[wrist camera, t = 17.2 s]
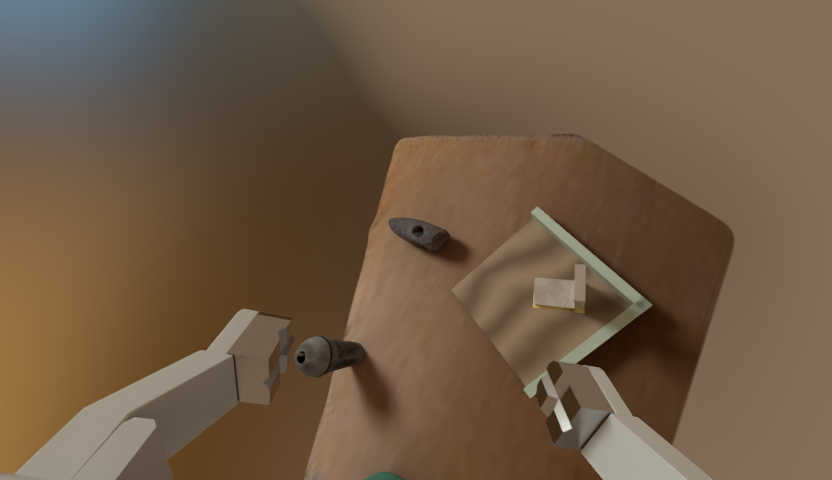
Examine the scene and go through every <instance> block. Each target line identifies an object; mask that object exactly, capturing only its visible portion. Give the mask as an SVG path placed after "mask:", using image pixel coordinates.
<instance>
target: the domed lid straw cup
mask: <svg viewBox="0 0 832 480" xmlns="http://www.w3.org/2000/svg"><path fill="white" fill-rule="evenodd" d="M293 355H295V363H296V366H297V368H298V370H299V371H300V372H301V373H303V374H304V375H306V376H311V377H320V376H322V375H324V374H327V373H329V372H331V371H334V370H338V369H342V368H345V367H349V366H353V365H355V364H358V363H360V362H361V360H362V359H363V355H364V351H363V347H362V346H361V344H359V343H355V342H349V341H341V340H331V339H329V338H325V337H323V336H317V337H313V338H310V339H307V340H306V341H305V342H303V343H302V344H301V345H300V347H299V348H298V349H297V352H293Z"/></svg>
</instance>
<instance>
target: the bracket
mask: <svg viewBox="0 0 832 480" xmlns="http://www.w3.org/2000/svg"><path fill="white" fill-rule="evenodd" d="M585 289H586V265H584V264H575V280H563V279H549V278H535V296H534V304H535V305H542V306H551V307H560V308H569V309H578V310H583V308H584V304H585Z"/></svg>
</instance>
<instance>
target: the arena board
mask: <svg viewBox="0 0 832 480" xmlns="http://www.w3.org/2000/svg"><path fill="white" fill-rule="evenodd" d="M575 264H584V263H583V262H581V261H580V260H579V259H578V258H577V257H576V256H575V255H574V254H573V253H571V252H570V251H569V250H568V249H567V248H566V247H565V246H564V245H562V244H561V243H560V242H559V241H558V240H557V239H556V238H555V237H553V236H552V235H551V234H550V233H549V232H548V231H547V230H546V229H544V228H543V227H542V226H541V225H540V224H539V223H538V222H537V221H535V220H534V219H533V218H532V219H531V220H530V221H529V222H528V223H527V224H526V225H524V226H523V227H522V228H521V229H520V230H519V231H518V232H516V233H515V234H514V235H513V236H512V237H511V238H510V239H509V240H507V241H506V242H505V243H504V244H503V245H502V246H501V247H499V248H498V249H497V250H496V251H495V252H494V253H493V254H492V255H490V256H489V257H488V258H487V259H486V260H485V261H484V262H482V263H481V264H480V265H479V266H478V267H477V268H476V269H475V270H473V271H472V272H471V273H470V274H469V275H468V276H467V277H465V278H464V279H463V280H462V281H461V282H460V283H459V284H458V285H456V286H455V287H454V288H453V289H452V291H453V293H454V294H455V295H456V296H457V298H458V299H459V300H460V302H461V303H462V304H463V306H464V307H465V308H466V309H467V311H468V312H469V313H470V315H471V316H472V317H473V318H474V320H475V321H476V322H477V324H478V325H479V326H480V328H481V329H482V330H483V331H484V333H485V334H486V335H487V337H488V338H489V339H490V341H491V342H492V343H493V344H494V346H495V347H496V348H497V350H498V351H499V352H500V354H501V355H502V356H503V357H504V359H505V360H506V361H507V363H508V364H509V365H510V366H511V368H512V369H513V370H514V372H515V373H516V374H517V376H518V377H519V378H520V379H521V381H522V382H523V383H524V385H525V386H527V385H528V384H530V383H531V382H532V381H534V380H535V379H536V378H537V377H539V376H540V375H541V374H543V373H544V372H545V371H547V369H546V368H547V366H548V365H549V363H550V362H552V361H560V360H561V359H562V358H563V357H565V356H566V355H567V354H569V353H570V352H571V351H573V350H574V349H575V348H576V347H578V346H579V345H580V344H582V343H583V342H584V341H585V340H587V339H588V338H589V337H591V336H592V335H593V334H595V333H596V332H597V331H598V330H600V329H601V328H602V327H604V326H605V325H606V324H608V323H609V322H610V321H611V320H613V319H614V318H615V317H617V316H618V315H619V314H620V313H622V312H623V311H624V310H626V309H627V308H628V307H630V306H631V305H630V304H629V303H628V302H626V301H625V300H624V299H623V298H622V297H621V296H620V295H619V294H617V293H616V292H615V291H614V290H613V289H612V288H611V287H610V286H608V285H607V284H606V283H605V282H604V281H603V280H602V279H601V278H599V277H598V276H597V275H596V274H595V273H594V272H593V271H592V270H590V269H589V268H588V267H587V266H586V289H585V304H584V308H583V310H578V309H569V308H560V307H551V306H542V305H535V304H534V296H535V278H549V279H563V280H575ZM584 265H585V264H584Z"/></svg>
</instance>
